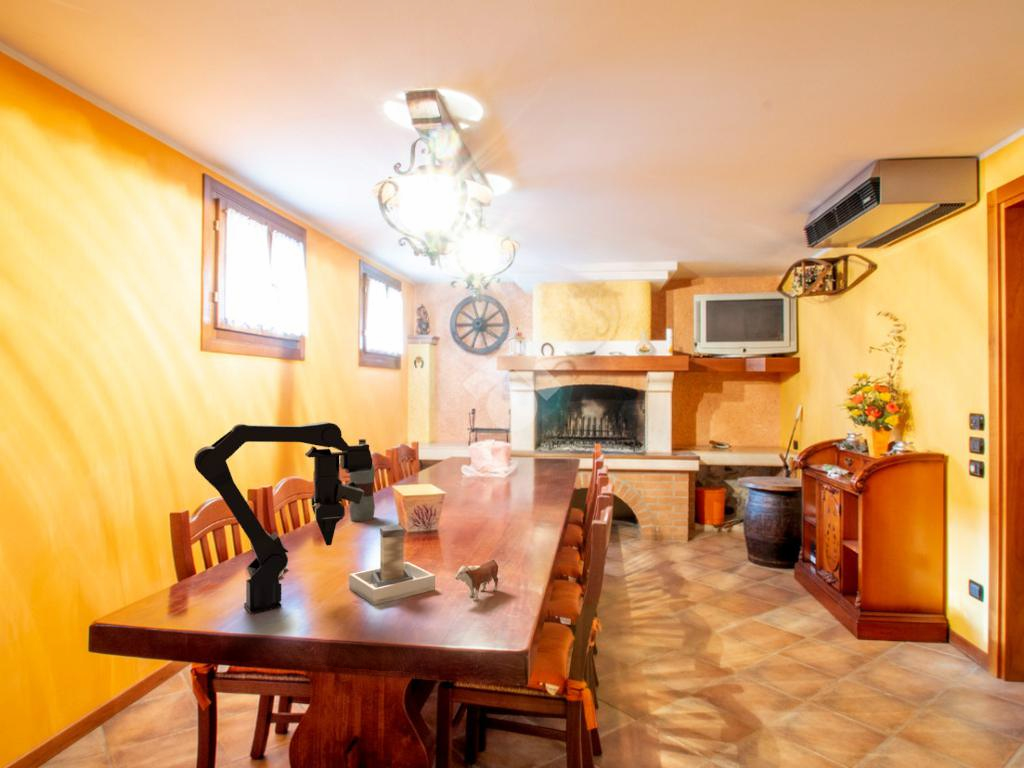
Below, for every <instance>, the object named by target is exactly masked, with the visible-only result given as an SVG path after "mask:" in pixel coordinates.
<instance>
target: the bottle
mask: <svg viewBox="0 0 1024 768" xmlns="http://www.w3.org/2000/svg"><path fill="white" fill-rule="evenodd" d="M361 444H367V439H365V438H364V439H363V438H362V439H360V438H359V439H358V445H361ZM375 476H376V473H375V467H374V464H373V463H372V469H371V471H369V472H356V473H349V482H350V481H352V482H356V483H357V488H360V489H362V490H363V491H364V495H363V497H362V500H361V503H360V504H356V503H354V502H351V501H349V517H350V520H351V521H352V522H367V521H371V520H373V519H374V516H375V509H376V505H375V499H374V489H375V488H374V486H375Z"/></svg>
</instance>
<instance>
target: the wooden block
mask: <svg viewBox="0 0 1024 768" xmlns="http://www.w3.org/2000/svg"><path fill="white" fill-rule="evenodd" d="M379 534H380V537H379V538H380V543H379V545H380V548H379V549H380V553H379V554H380V556H379V557H380V563H379V564H380V565H379V566H380V567H379V568H380V581H384V580H392V579H399V578H404V559H405V558H404V556H405V555H404V553H405V552H404V550H405V549H404V546H405V545H404V543H405V542H404V541H405V540H404V538H405V537H404V536H405V529H404V527H403V526H402V525H401V524H392V525H384V526H383V525H382V526H379Z"/></svg>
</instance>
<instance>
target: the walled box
mask: <svg viewBox="0 0 1024 768" xmlns="http://www.w3.org/2000/svg"><path fill="white" fill-rule="evenodd" d="M348 577H349V585H348V586H349V589H350V590H351V591H352V592H355V594H357V595H358V596H360V597H362V598H363V599H365V600H366V601H367V602H369V603H370V604H372V605H373V606H376V605H380V604H384V603H388V602H392V601H396V600H399V599H403V598H407V597H411V596H415V595H419V594H423V593H427V592H430V591H434V590H436V575H435V574H433V573H432V572H429V571H427V570H426V569H423V568H422V567H419V566H417V565H415V564H413V563H411V562H409V561H406V562H404V578H399V579H392V580H384V581H380V567H377V568H373V569H372V568H371V569H367V570H363V571H359V572H354V573H349V575H348Z"/></svg>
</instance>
